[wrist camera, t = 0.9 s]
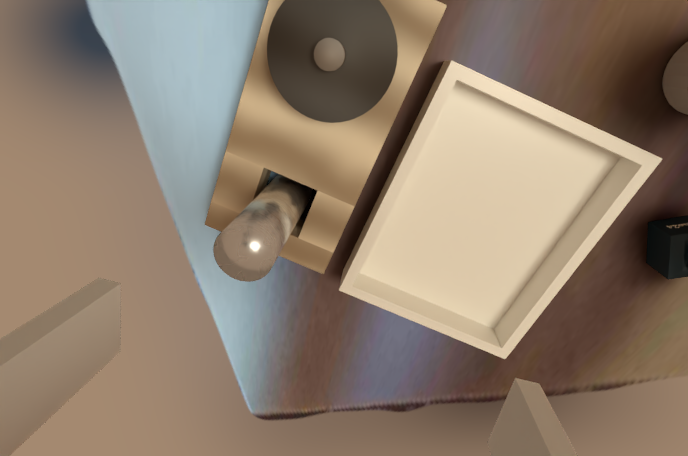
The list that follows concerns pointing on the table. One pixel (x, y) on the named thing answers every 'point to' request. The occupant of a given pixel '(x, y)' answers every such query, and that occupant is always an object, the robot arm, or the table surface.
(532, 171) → the tray
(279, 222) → the lock pin
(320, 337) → the table surface
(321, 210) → the tensioner plate
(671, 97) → the coffee cup
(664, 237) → the watch
